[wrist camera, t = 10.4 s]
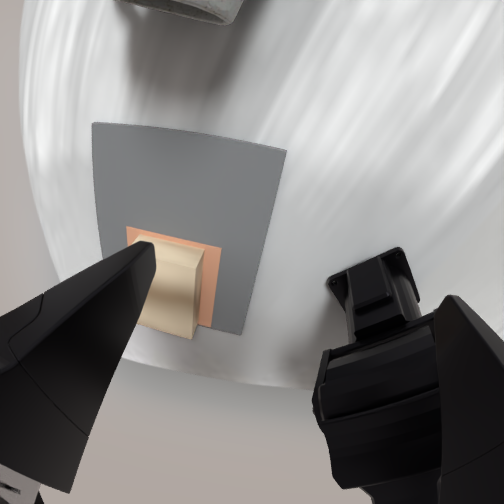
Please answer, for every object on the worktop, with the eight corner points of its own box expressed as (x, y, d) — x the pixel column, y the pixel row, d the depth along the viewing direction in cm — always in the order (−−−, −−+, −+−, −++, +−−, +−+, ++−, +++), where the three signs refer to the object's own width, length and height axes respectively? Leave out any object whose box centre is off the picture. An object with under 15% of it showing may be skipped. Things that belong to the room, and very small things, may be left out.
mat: (286, 150, 18) (286, 152, 17) (241, 332, 28) (240, 336, 28) (94, 122, 18) (90, 123, 17) (112, 296, 28) (110, 299, 28)
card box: (198, 320, 27) (191, 339, 26) (145, 305, 28) (136, 323, 26) (204, 249, 22) (195, 268, 21) (139, 233, 23) (126, 251, 21)
